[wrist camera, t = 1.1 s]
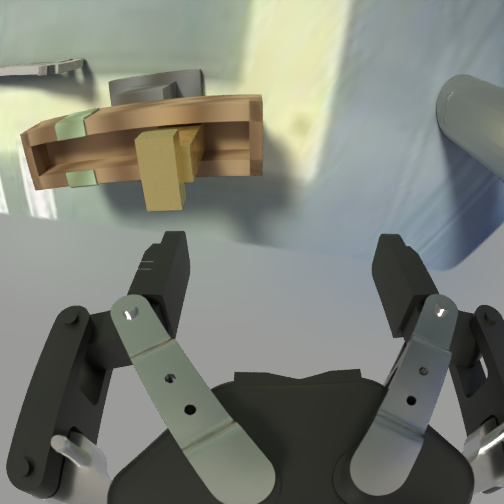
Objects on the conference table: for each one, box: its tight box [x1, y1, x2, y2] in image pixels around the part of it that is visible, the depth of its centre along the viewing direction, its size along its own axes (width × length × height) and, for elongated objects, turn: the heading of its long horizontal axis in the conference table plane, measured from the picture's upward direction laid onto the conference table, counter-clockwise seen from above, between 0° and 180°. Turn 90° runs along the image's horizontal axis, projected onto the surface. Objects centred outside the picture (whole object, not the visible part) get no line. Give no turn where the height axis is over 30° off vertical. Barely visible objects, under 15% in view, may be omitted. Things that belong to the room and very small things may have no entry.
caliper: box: [0, 59, 84, 76], centre depth 24 cm, size 20×1×6 cm, turn 79°
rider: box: [135, 122, 207, 211], centre depth 22 cm, size 4×5×9 cm
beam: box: [20, 69, 263, 190], centre depth 28 cm, size 22×10×10 cm, turn 91°
